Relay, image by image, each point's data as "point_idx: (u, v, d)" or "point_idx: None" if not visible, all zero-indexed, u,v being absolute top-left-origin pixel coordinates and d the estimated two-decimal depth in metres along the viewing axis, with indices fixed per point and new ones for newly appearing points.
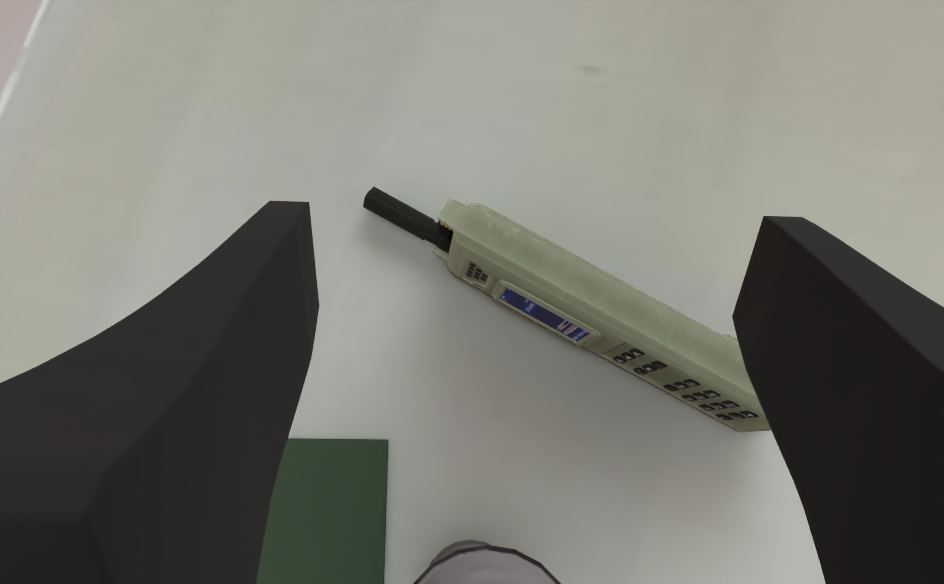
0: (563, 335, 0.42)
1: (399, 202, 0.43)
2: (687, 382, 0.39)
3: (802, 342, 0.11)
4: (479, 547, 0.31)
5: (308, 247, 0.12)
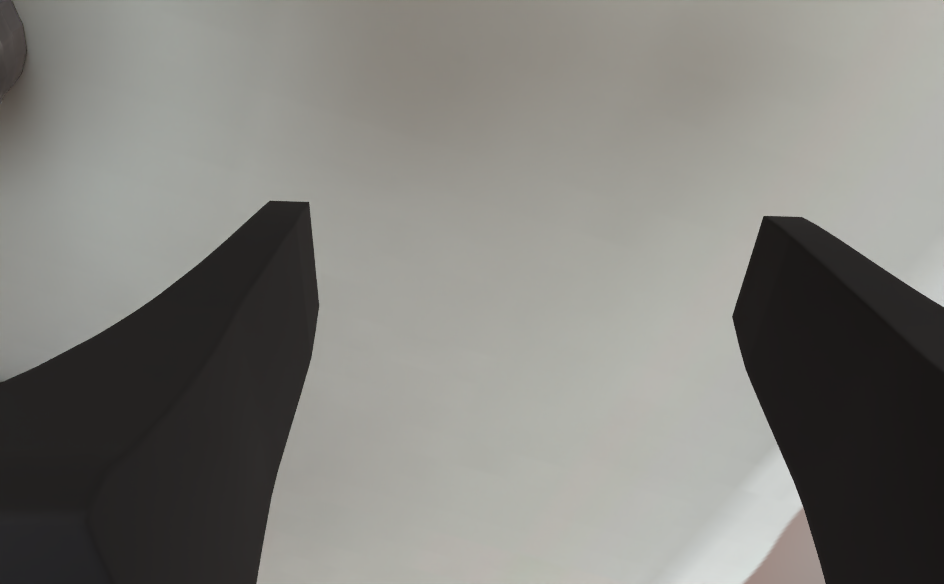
0: None
1: None
2: None
3: (802, 342, 0.11)
4: None
5: (308, 247, 0.12)
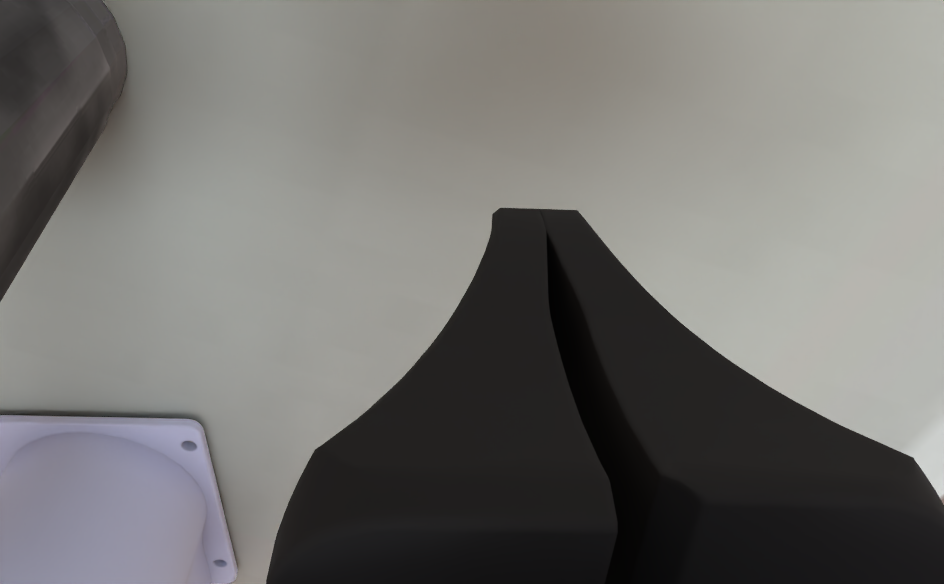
0: None
1: None
2: None
3: None
4: None
5: None
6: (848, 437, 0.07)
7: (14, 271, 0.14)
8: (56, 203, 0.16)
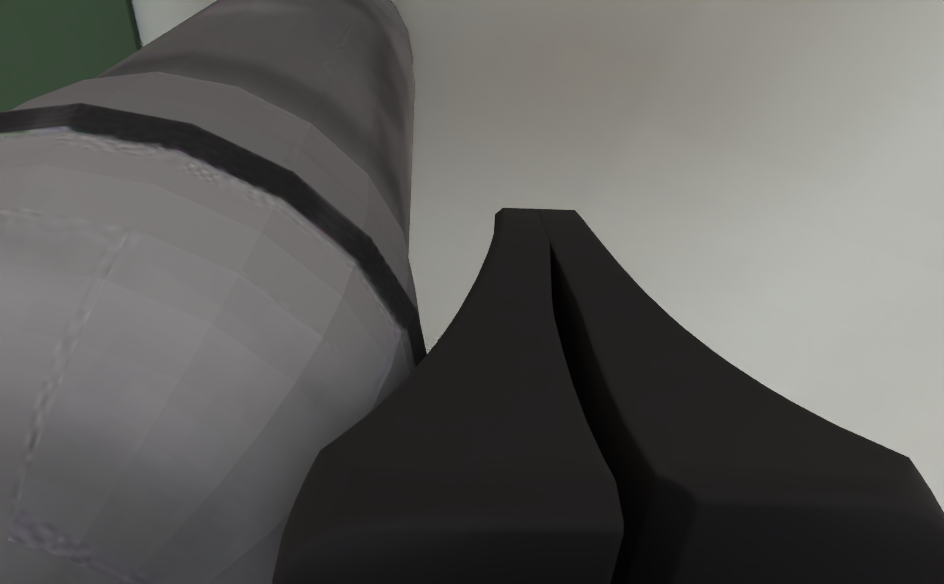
0: None
1: None
2: None
3: None
4: (51, 112, 0.08)
5: None
6: (844, 437, 0.07)
7: None
8: None
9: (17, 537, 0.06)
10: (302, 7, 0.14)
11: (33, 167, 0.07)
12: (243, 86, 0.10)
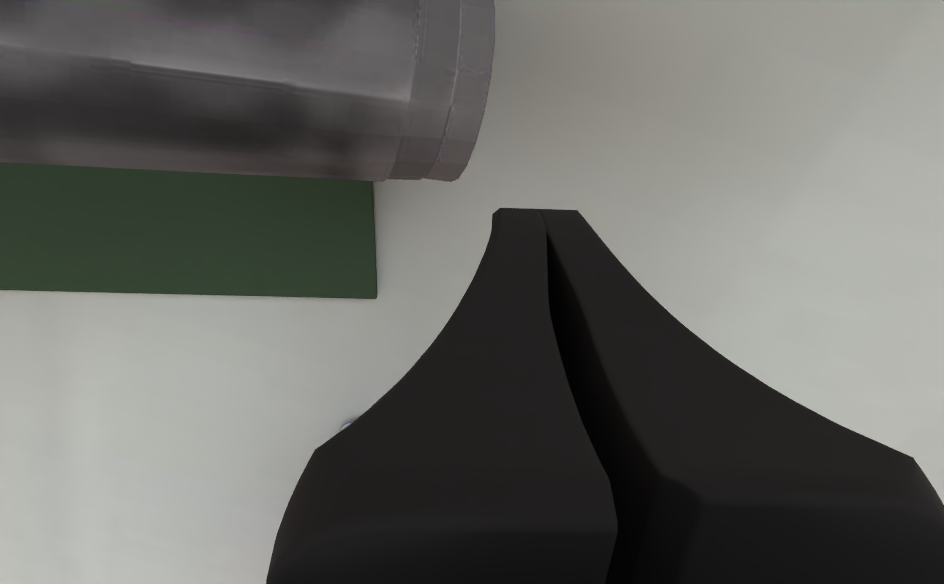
0: None
1: None
2: None
3: None
4: None
5: None
6: (848, 437, 0.07)
7: (70, 128, 0.14)
8: (205, 140, 0.15)
9: None
10: None
11: None
12: None
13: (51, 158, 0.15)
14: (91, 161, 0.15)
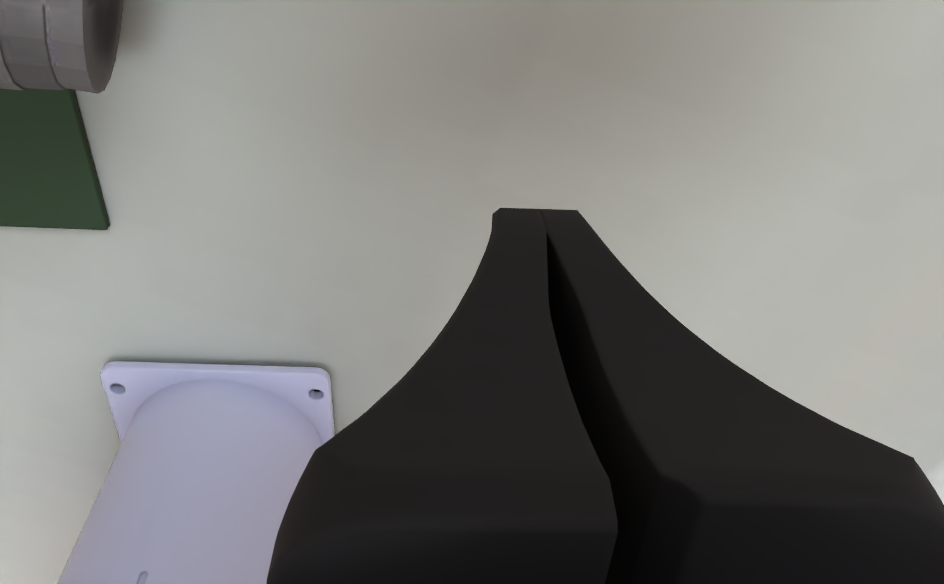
0: None
1: None
2: None
3: None
4: None
5: None
6: (848, 437, 0.07)
7: None
8: None
9: None
10: None
11: None
12: None
13: None
14: None
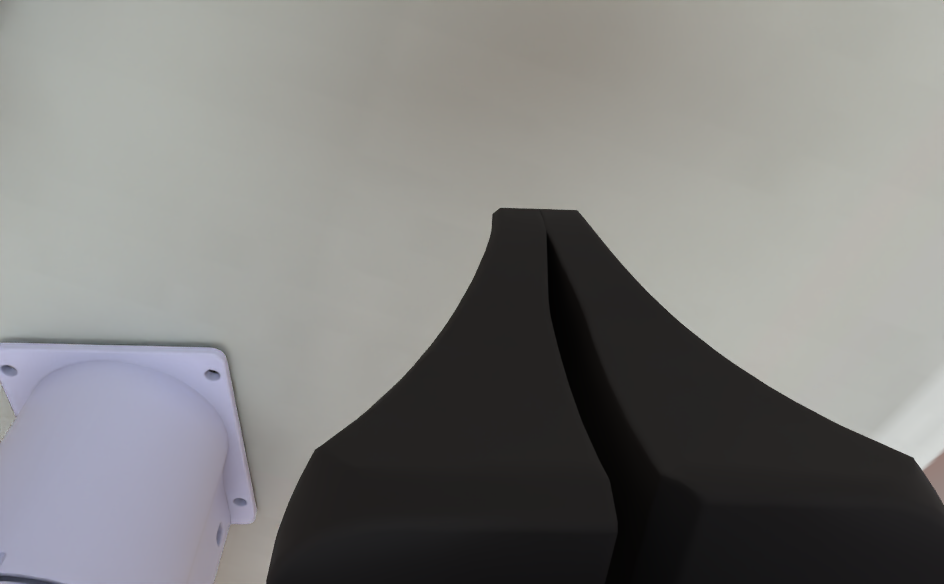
0: None
1: None
2: None
3: None
4: None
5: None
6: (848, 437, 0.07)
7: None
8: None
9: None
10: None
11: None
12: None
13: None
14: None
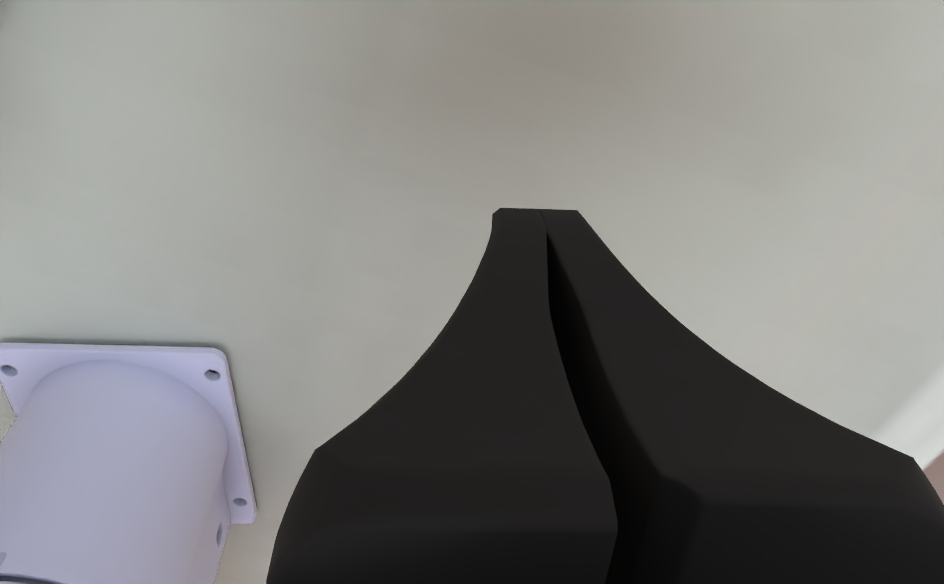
0: None
1: None
2: None
3: None
4: None
5: None
6: (848, 437, 0.07)
7: None
8: None
9: None
10: None
11: None
12: None
13: None
14: None
